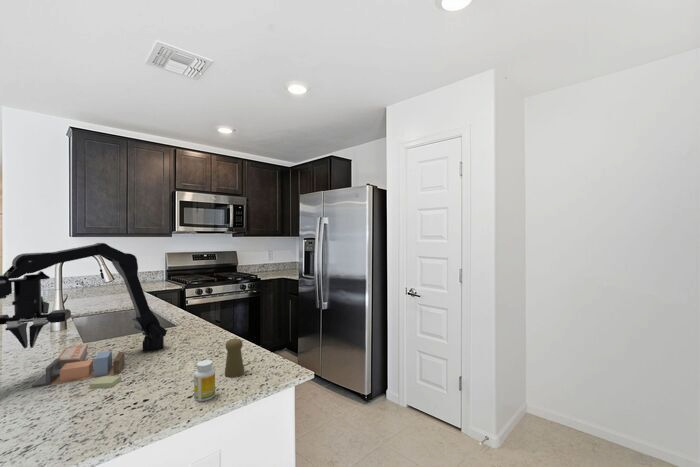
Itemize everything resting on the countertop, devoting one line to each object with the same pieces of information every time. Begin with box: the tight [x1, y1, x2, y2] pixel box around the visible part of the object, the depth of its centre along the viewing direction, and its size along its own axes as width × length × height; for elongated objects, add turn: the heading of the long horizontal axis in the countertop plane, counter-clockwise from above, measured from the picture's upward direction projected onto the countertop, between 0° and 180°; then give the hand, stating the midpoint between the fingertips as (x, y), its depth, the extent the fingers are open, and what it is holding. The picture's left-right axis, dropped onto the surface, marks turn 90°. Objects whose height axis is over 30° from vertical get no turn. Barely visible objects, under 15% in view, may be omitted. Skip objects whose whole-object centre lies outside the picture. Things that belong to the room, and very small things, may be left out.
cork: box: [224, 338, 245, 378], centre depth 105 cm, size 6×6×11 cm
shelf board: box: [30, 351, 125, 389], centre depth 103 cm, size 22×8×6 cm, turn 115°
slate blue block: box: [93, 350, 113, 376], centre depth 105 cm, size 4×6×6 cm, turn 25°
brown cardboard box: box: [60, 359, 94, 382], centre depth 102 cm, size 7×6×4 cm
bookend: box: [31, 357, 60, 388], centre depth 99 cm, size 4×8×5 cm, turn 25°
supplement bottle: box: [193, 359, 216, 402], centre depth 91 cm, size 5×5×10 cm
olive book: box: [89, 375, 122, 389], centre depth 96 cm, size 6×4×3 cm
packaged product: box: [57, 344, 94, 369], centre depth 114 cm, size 18×5×10 cm
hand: (28, 347), depth 97 cm, fingers closed
